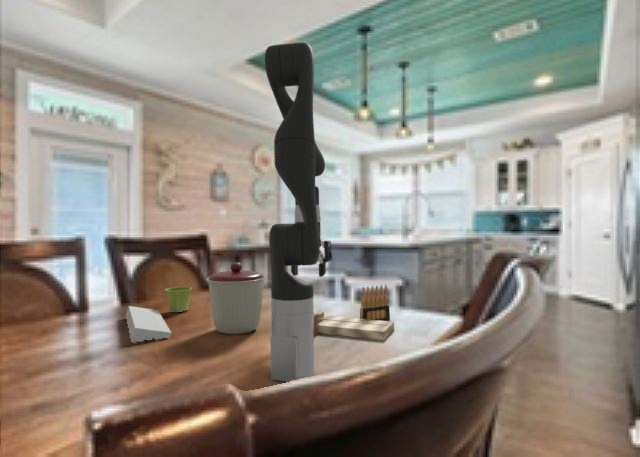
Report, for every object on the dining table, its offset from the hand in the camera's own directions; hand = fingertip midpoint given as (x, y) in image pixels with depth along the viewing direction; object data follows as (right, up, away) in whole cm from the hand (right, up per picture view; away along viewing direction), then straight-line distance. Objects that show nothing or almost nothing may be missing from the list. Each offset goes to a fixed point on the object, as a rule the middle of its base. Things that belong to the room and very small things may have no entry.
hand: (308, 275), depth 121 cm
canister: (-22, -18, +7) cm, 29 cm away
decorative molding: (-53, -19, +12) cm, 57 cm away
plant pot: (-50, -18, +34) cm, 63 cm away
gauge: (+2, -18, +4) cm, 18 cm away
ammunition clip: (+22, -17, +15) cm, 31 cm away
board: (+11, -17, +5) cm, 21 cm away
